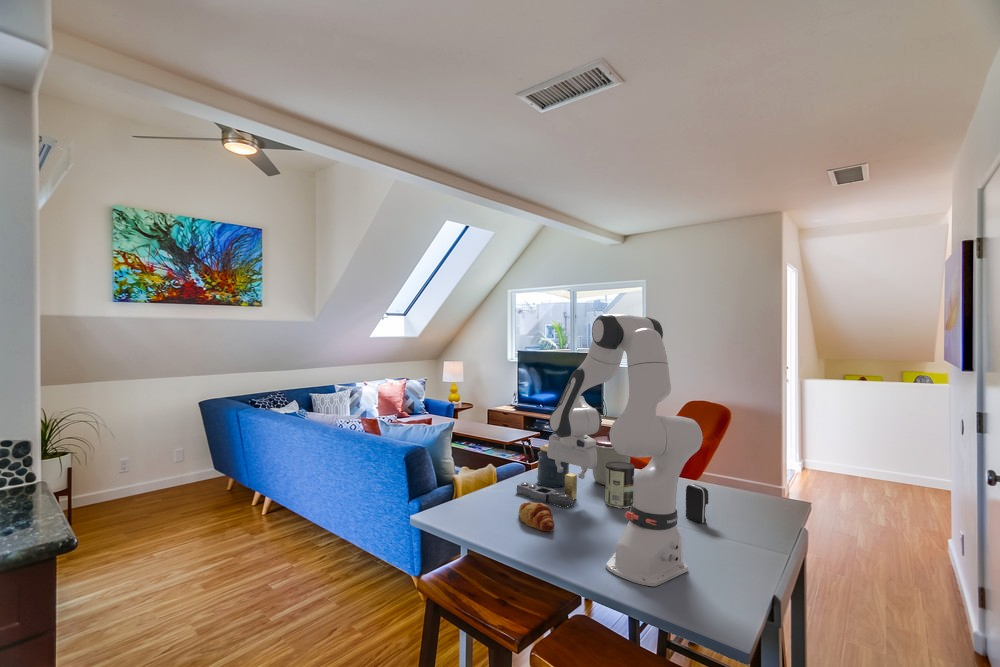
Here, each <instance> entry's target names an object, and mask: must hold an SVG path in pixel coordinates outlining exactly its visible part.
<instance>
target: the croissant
mask: <svg viewBox="0 0 1000 667" xmlns="http://www.w3.org/2000/svg"><path fill="white" fill-rule="evenodd" d="M518 515H519V519H520V522H522V523H524V524H525V525H526V526H528V527H531V528H534V529H537V530H539V531H542V532H551V531H553V530H554V528H555V521H554V517H553V516H554V515H553V514H552V510H551V508H550V506H548V505H547V504H546V503H543V502H540V503H539V502H531V501H529V502H522V503H521V504H520V506H519V510H518Z"/></svg>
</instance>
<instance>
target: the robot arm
mask: <svg viewBox="0 0 1000 667" xmlns="http://www.w3.org/2000/svg"><path fill="white" fill-rule="evenodd" d="M591 337H592V341H591V343H590V344H589V345H590V346H589V349H588V352H587V355H586V357H585V359H584V361H583V362H581V364H580V366H578V367H577V368H576V369H574V371H573V372H572V373H571V375H570V377H569V379H568V382H567V383H566V386H565V387H564V390H563V393H562V394H561V397H560V399H559V401H558V403H557V405H556V407H555V408H554V409H553V411H552V413H551V414H550V417H549V428H550V429H551V431H552V432H553V434H551V435H549V437H548V443H549V444H548V443H547V444H548V450H547V456H548V458H550V459H554V460H555V464H556V466H557V472H559V473H562V472H563V467H561V464H560V462H565V463H569V465H573V466H578V467H581V468H580V470H581V472H579V473H578V478H579V479H581V480H583V479H585V475H586V472H587V471H588V470H592V468H595V467H596V466H597V450H596V448H595V447H594V446H595V445H596V440H594V439H593V438H594V437H593V438H592V437H590V435H594V434H597V433H598V432H599V431H600V429H601V427H602V421H603V420H602V415H601V413H600V412H599V411H598V409H597V408H595V407H592V406H591V405H589V404H588V403H587V402H586V400H585V397H584V396H583V395H582V394H583V393H584V392H585V391H587V390H588V389H590V388H592V387H595V386H598V385H602V384H605V383H607V382H609V381H611V380H612V379H613V378H615V376H616V375H617V374H618V371H619V369H620V366H621V363H622V359H623V355H624V352H625V354H626V363H627V364H626V365H627V375H628V376H627V377H628V399H627V404H626V406H625V408H624V410H623V412H622V413H621V414H620V416H619V417H617V419H615V420H614V422H612V424H611V426H610V429H609V432H610V434H609V437H610V442H611V445H612V447H613V448H614V450H615V451H616V452H617V453H618V454H620V455H625V456H630V458H631V457H632V458H651V459H650V460H649V462H648V464H647V465H645V467H643V468H642V469H640V470H639V471H638V472H637V473H636V474H635V475H634V491H633V504H632V506H631V508H630V510H629V511H628V510H627V511H625V515H624V517H625V519H626V520H629V521H628V522H627V525H626V527H625V528H624V530H623V532H622V534H621V535H620V537H619V539H618V541H617V542H616V547H615V552H614V553H613V554H612V555H611V557H610V558H609V559H608V561H607V562H606V563H605V569H606V570H607V571H609V572H611V573H612V574H614V575H615V576H618V577H619V578H623V579H625V580H628V581H629V582H632V583H636V584H639V585H644V586H649V587H658V586H659V585H662V584H664V583H666V582H669V581H670V580H673V579H674V578H676V577H678V576H679V577H680V576H681V575H682V574H684V573H688V572H689V568H688V567H689V566H688V565H687V564H686V563H685V562H684V556H683V553H684V552H683V549H684V548H683V536H682V535H681V533H680V531H679V530H678V527H677V525H678V518H679V516H678V510H677V508H676V506H677V493H678V492H677V490H678V489H677V488H678V482H679V479H680V475H681V474H682V471H683V469H684V467H685V465H686V463H687V462H688V461H689V459H690V458H691V457H692V456H694V455H695V454H697V452H698V451H699V450H700V449H701V447H702V444H703V439H704V437H703V432H702V429H701V427H700V425H699V424H698V422H697V421H696V420H694V419H693V418H689V417H685V416H680V415H657V414H656V413H657V407H658V405H659V403H661V402H663V401H664V400H666V399H667V398H668V397H669V395H670V394H671V391H672V385H671V377H670V369H669V363H668V362H669V361H668V357H667V352H666V348H665V343H664V341H663V338H664V331H663V327H662V325H661V323H660V322H659V321H658V320H657V319H654V318H651V317H649V316H646V317H643V316H638V315H631V314H628V313H627V314H625V313H623V314H621V313H619V314H612V313H606V314H600V315H598V316H597V317H596V318H595V320H594V321H593V323H592V328H591Z"/></svg>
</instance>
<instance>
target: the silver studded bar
mask: <svg viewBox="0 0 1000 667" xmlns="http://www.w3.org/2000/svg"><path fill="white" fill-rule="evenodd" d="M516 494H518V495H521V496H523V497H524V496H525V497H528V498H530V499H531V500H534V501H537V502H539V501H540V503H542V504H549V503H551V504H550V505H553V504H555V505H554V506H556V505H558V506H557V507H559V506H561V507H560V508H562V507H564V508H563V509H566V508H565V507H567V506H569V505H571V504H573V503H574V500H573V496H570V495H567V494H564V493H562V492H561V491H558V490H556V489H553V488H551V487H547V486H543V485H541V486H539V485H536V484H532V483H529V482H525V481H524V482H521V483H519V484H516ZM547 502H548V503H547ZM571 506H572V505H571ZM569 507H570V506H569ZM567 508H568V507H567Z"/></svg>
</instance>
